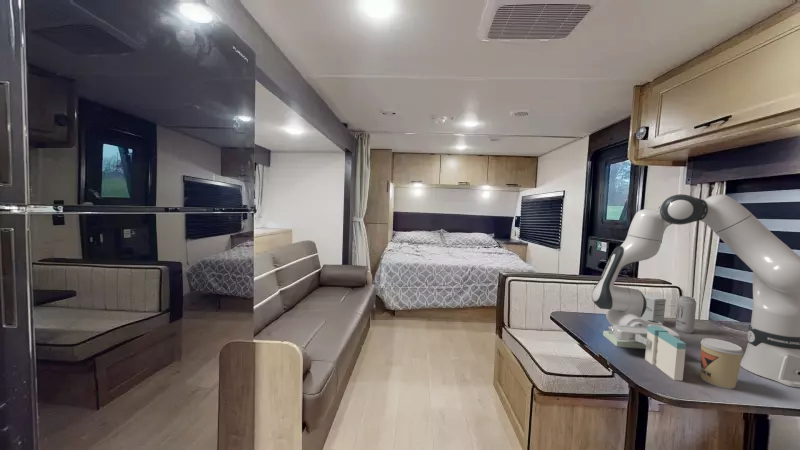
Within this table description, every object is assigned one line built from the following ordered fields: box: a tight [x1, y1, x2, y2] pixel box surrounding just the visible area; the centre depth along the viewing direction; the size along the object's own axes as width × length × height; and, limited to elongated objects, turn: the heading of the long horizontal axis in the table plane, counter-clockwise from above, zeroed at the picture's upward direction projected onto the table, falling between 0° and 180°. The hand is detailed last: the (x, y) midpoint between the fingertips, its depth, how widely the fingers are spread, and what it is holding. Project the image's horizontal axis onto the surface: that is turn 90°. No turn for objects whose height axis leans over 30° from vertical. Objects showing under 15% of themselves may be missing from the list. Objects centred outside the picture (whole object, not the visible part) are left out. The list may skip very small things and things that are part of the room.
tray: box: [602, 330, 646, 350], centre depth 130 cm, size 11×11×2 cm
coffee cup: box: [700, 337, 744, 390], centre depth 101 cm, size 9×9×12 cm
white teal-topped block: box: [644, 326, 668, 366], centre depth 113 cm, size 4×4×12 cm
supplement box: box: [641, 293, 667, 326], centre depth 151 cm, size 7×7×13 cm
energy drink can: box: [675, 295, 697, 334], centre depth 142 cm, size 6×6×15 cm
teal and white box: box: [655, 332, 687, 382], centre depth 106 cm, size 3×9×12 cm, turn 172°
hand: (658, 343), depth 112 cm, fingers open, 5 cm apart
